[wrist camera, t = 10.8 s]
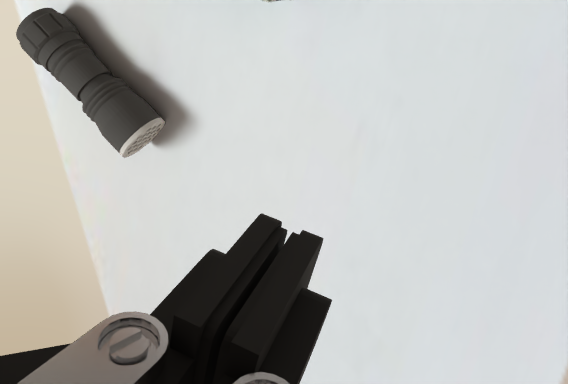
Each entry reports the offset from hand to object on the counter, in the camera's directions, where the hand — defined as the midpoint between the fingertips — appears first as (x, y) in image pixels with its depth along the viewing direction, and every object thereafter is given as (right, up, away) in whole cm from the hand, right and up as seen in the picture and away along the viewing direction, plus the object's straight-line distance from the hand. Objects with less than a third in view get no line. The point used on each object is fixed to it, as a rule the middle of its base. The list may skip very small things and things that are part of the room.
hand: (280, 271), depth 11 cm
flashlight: (-18, +14, +35) cm, 42 cm away
